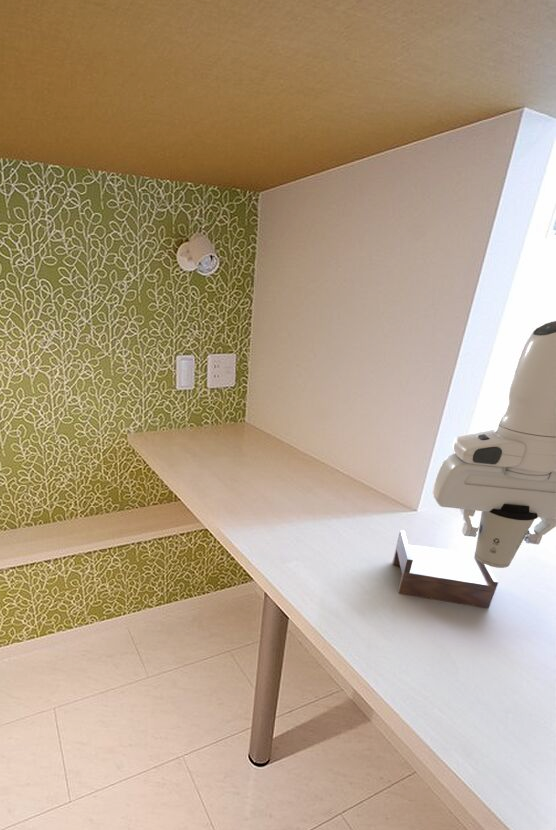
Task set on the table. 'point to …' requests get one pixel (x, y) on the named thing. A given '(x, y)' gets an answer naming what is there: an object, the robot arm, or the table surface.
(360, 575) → the table surface
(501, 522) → the coffee cup
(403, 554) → the stand
